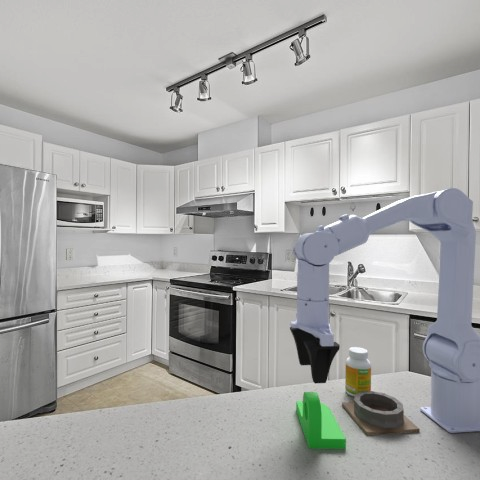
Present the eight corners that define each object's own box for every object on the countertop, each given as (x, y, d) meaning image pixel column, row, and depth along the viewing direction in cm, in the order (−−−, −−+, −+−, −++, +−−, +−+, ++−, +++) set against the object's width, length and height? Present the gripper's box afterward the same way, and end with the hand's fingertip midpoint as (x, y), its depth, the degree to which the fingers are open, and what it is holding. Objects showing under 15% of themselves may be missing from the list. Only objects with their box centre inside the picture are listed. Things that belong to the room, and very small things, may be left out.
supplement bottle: (358, 401, 67) (359, 355, 67) (340, 390, 72) (340, 347, 72) (376, 395, 70) (376, 351, 70) (357, 385, 75) (357, 344, 75)
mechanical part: (345, 451, 51) (346, 402, 52) (309, 450, 52) (309, 401, 52) (325, 411, 63) (326, 371, 64) (296, 411, 64) (296, 371, 64)
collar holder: (387, 403, 66) (387, 388, 66) (419, 432, 56) (419, 414, 56) (342, 405, 65) (342, 390, 65) (366, 435, 55) (366, 417, 55)
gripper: (281, 291, 64) (281, 358, 64) (303, 307, 50) (302, 393, 50) (315, 291, 65) (314, 357, 65) (346, 306, 51) (345, 391, 50)
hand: (312, 372), depth 57 cm, fingers open, 7 cm apart
